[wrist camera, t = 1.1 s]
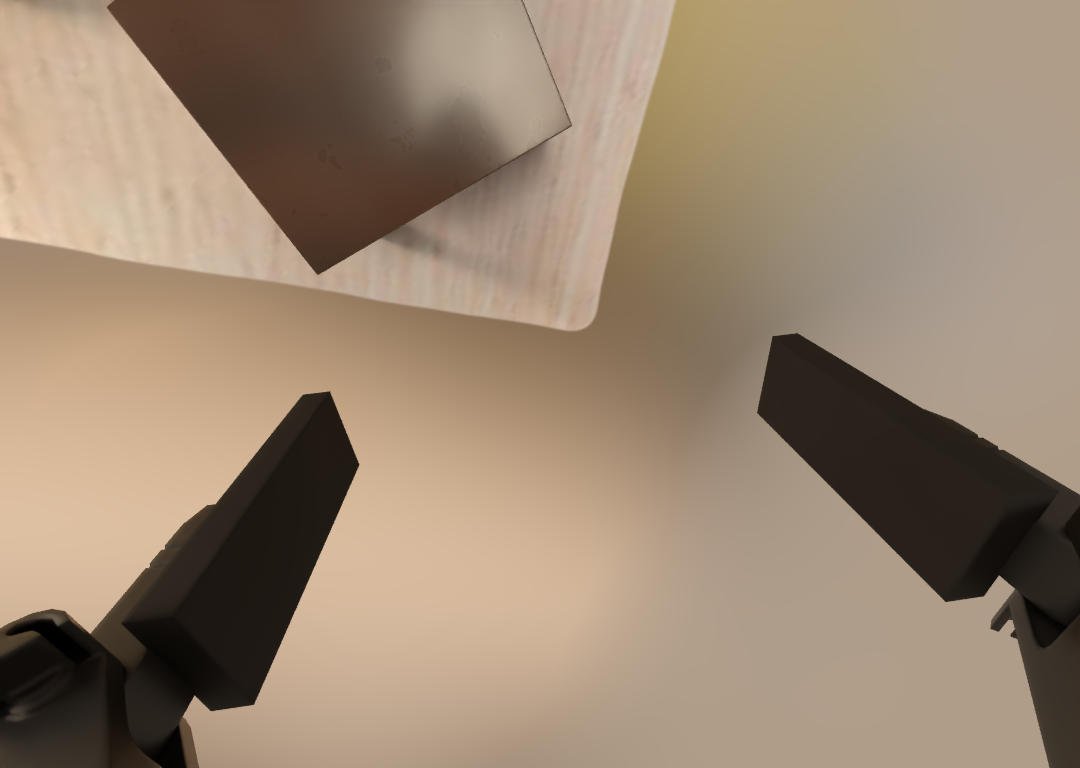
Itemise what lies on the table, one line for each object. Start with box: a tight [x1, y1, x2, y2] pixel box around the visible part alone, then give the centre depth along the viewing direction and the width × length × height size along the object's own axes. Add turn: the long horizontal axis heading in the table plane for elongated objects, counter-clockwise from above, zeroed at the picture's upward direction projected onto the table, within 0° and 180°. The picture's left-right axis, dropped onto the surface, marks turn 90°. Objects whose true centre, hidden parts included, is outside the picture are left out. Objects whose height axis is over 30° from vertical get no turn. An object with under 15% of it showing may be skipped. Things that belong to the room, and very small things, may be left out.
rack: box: [107, 0, 572, 275], centre depth 23 cm, size 12×15×12 cm
